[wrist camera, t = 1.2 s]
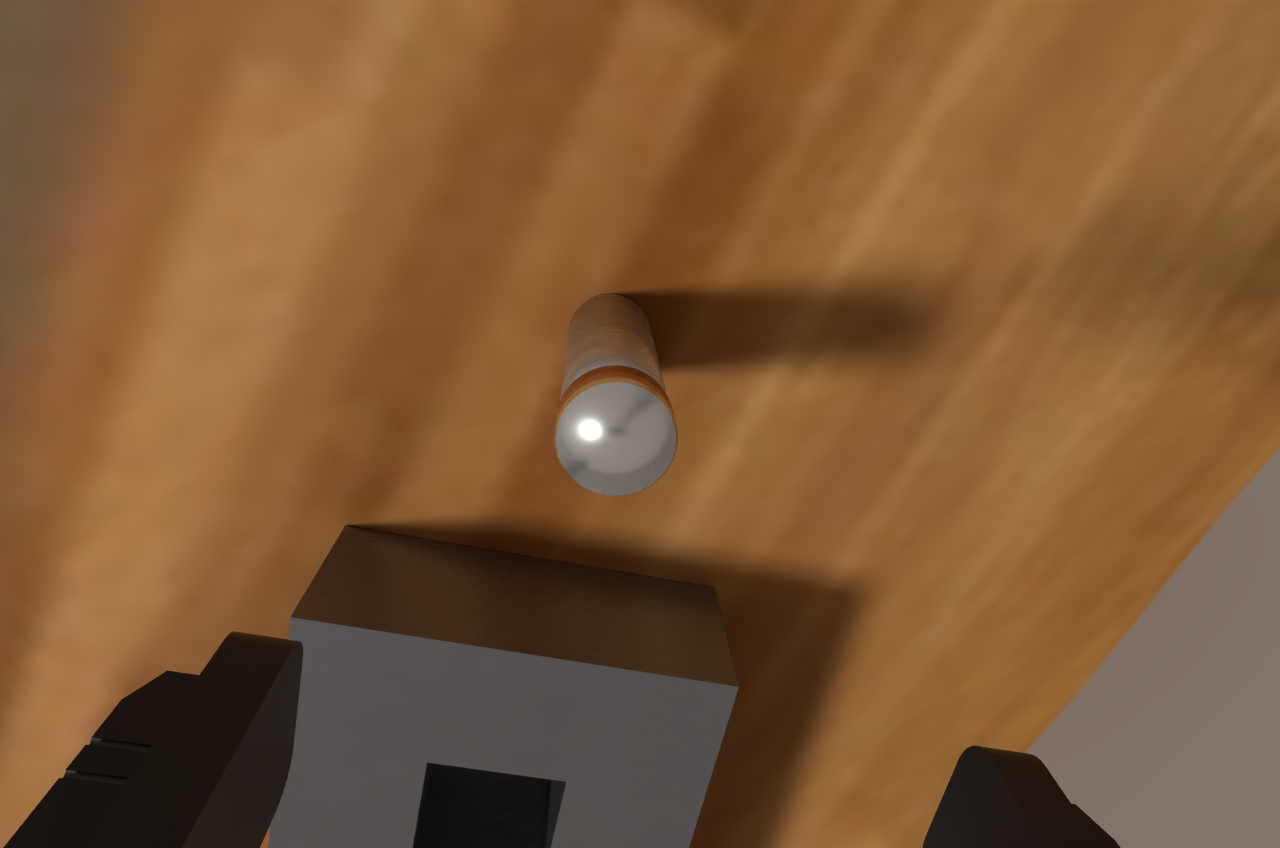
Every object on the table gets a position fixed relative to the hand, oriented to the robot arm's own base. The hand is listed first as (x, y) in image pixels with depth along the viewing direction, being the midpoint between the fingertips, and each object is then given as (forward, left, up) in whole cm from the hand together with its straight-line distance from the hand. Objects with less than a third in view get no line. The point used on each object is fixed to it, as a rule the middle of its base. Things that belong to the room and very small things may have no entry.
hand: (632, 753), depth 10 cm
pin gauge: (0, 0, -20) cm, 20 cm away
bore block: (+1, +16, -20) cm, 26 cm away
